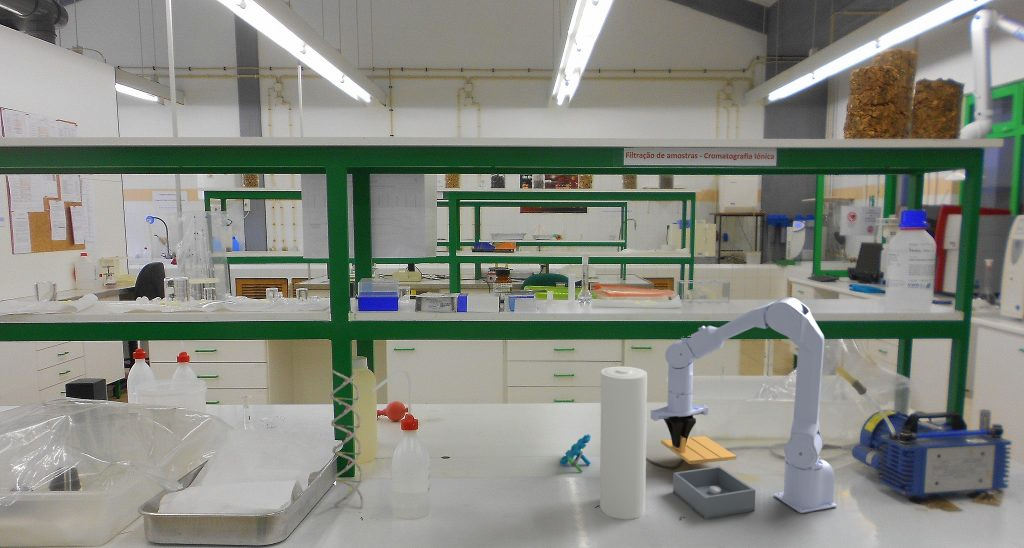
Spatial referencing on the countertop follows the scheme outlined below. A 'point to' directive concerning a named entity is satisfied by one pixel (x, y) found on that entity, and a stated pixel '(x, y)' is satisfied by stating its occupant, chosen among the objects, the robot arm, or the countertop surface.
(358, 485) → the dna model
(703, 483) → the tub
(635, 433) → the cylinder container
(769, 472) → the countertop surface
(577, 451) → the blue knobbly piece
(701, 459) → the lid
